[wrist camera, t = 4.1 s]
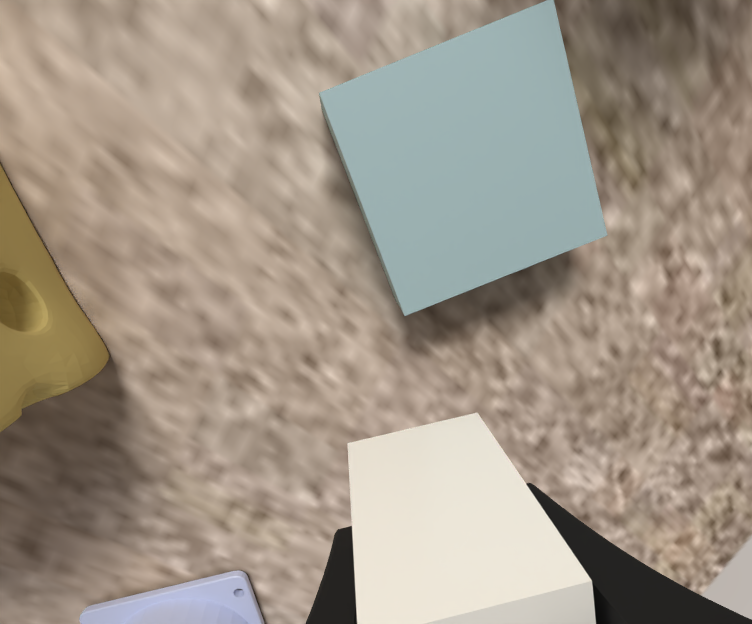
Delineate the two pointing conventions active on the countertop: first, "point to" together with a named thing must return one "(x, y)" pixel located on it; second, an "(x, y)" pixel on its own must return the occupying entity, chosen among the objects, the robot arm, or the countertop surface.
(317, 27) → the countertop surface
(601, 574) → the robot arm
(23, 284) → the cheese
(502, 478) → the cream block
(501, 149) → the light blue block
